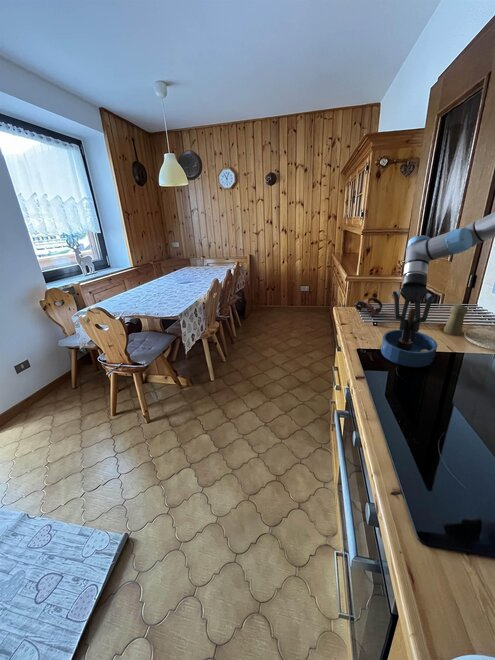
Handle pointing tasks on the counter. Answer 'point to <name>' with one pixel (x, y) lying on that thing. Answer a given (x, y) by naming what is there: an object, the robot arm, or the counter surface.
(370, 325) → the counter surface
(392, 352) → the bowl
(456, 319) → the olive green waisted cylinder
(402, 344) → the brown wooden pestle
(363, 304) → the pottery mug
